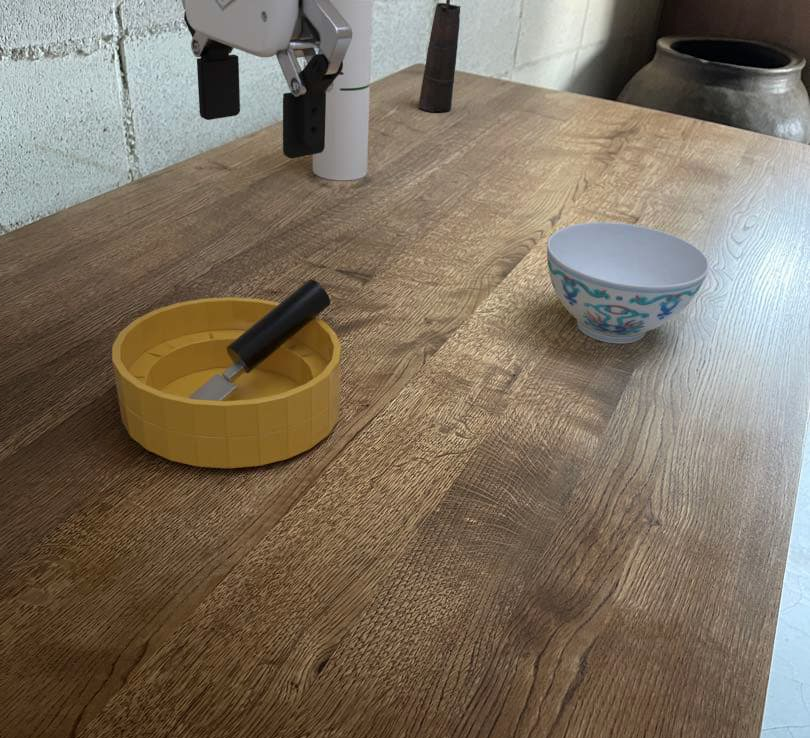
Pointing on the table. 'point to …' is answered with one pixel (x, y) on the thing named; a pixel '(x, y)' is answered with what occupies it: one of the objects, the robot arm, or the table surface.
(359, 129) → the cylindrical container
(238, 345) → the putty knife
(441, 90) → the butter churn
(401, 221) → the table surface
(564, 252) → the chinaware
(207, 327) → the bowl
